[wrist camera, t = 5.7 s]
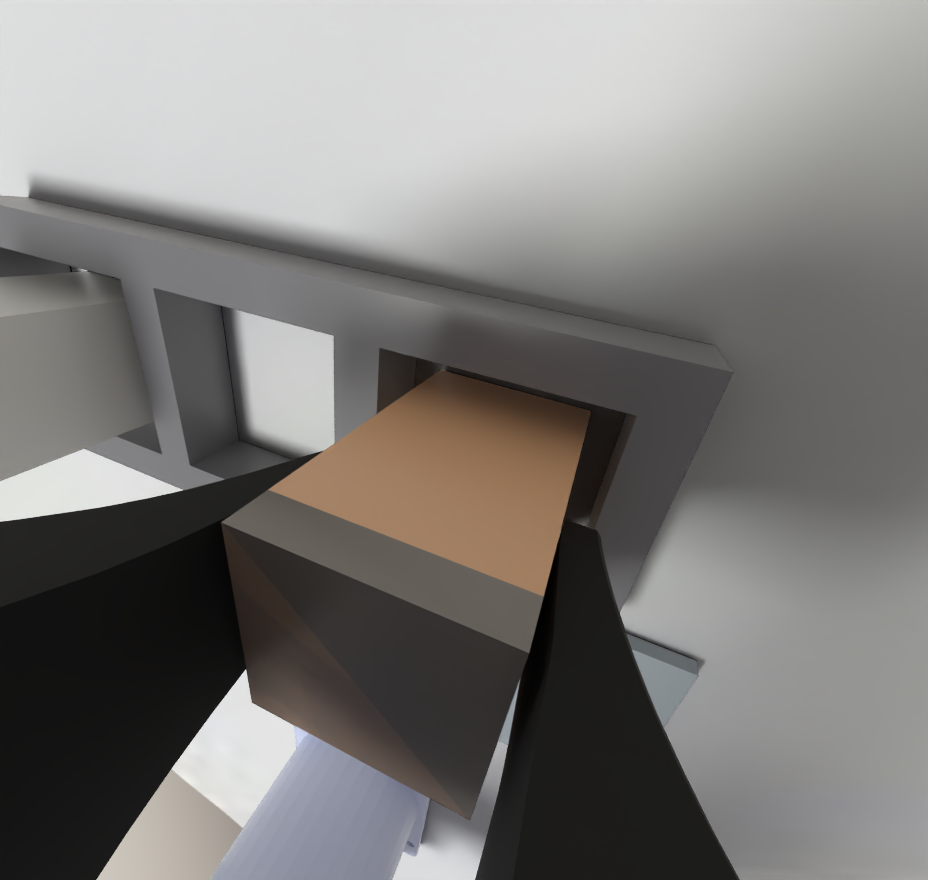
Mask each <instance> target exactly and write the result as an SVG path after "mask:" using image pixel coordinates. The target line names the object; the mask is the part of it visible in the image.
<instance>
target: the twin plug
mask: <svg viewBox="0 0 928 880" xmlns="http://www.w3.org/2000/svg"><path fill="white" fill-rule="evenodd" d="M151 422H154V418H153V414H152V409H151V405H150V401H149V397H148V393H147V389H146V384H145V380H144V376H143V372H142V368H141V364H140V360H139V355H138V351H137V347H136V343H135V339H134V335H133V330H132V326H131V322H130V318H129V314H128V310H127V306H126V301H125V297H124V293H123V289H122V285H121V281H120V280H118V279H114V278H111V277H107V276H103V275H99V274H95V273H92V272H88V271H83V272H69V273H55V274H40V275H26V276H12V277H0V481H2V480H4V479H7V478H9V477H12V476H15V475H17V474H20V473H22V472H25V471H27V470H30V469H33V468H35V467H38V466H40V465H43V464H45V463H48V462H51V461H53V460H56V459H58V458H61V457H64V456H66V455H69V454H71V453H74V452H76V451H79V450H82V449H84V448H87V447H89V446H92V445H94V444H97V443H100V442H102V441H105V440H107V439H110V438H112V437H115V436H118V435H120V434H123V433H125V432H128V431H131V430H133V429H136V428H138V427H141V426H143V425H146V424H149V423H151Z"/></svg>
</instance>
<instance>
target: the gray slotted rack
mask: <svg viewBox="0 0 928 880" xmlns="http://www.w3.org/2000/svg"><path fill="white" fill-rule="evenodd" d="M69 265H70V266H74V267H77V268H81V269H85V270H89V271H92V272H96V273H100V274H104V275H107V276H111V277H115V278H119V279H120V281H121V285H122V289H123V293H124V297H125V301H126V306H127V310H128V314H129V318H130V322H131V326H132V330H133V335H134V339H135V343H136V347H137V351H138V355H139V360H140V364H141V368H142V372H143V376H144V380H145V384H146V389H147V393H148V397H149V401H150V405H151V409H152V414H153V418H154V422H151V423H149V424H146V425H143V426H141V427H138V428H136V429H133V430H131V431H128V432H125V433H123V434H120V435H118V436H115V437H112V438H110V439H107V440H105V441H102V442H100V443H97V444H94V445H92V446H89V447H87V448H84V449H86V450H89V451H91V452H94V453H96V454H98V455H101V456H103V457H106V458H108V459H110V460H113V461H115V462H118V463H120V464H122V465H125V466H127V467H130V468H132V469H134V470H137V471H139V472H142V473H144V474H146V475H149V476H151V477H154V478H156V479H159V480H161V481H163V482H166V483H168V484H171V485H173V486H175V487H178V488H180V489H183V490H187V489H191V488H195V487H199V486H202V485H206V484H210V483H214V482H217V481H221V480H225V479H229V478H233V477H236V476H240V475H244V474H247V473H251V472H254V471H257V470H261V469H264V468H267V467H271V466H274V465H277V464H281V463H284V462H287V461H291V460H292V459H289V458H286V457H283V456H281V455H278V454H275V453H272V452H270V451H267V450H264V449H261V448H258V447H256V446H253V445H250V444H247V443H245V442H242V441H239V438H238V430H237V423H236V416H235V408H234V401H233V393H232V386H231V379H230V371H229V364H228V357H227V349H226V342H225V334H224V327H223V320H222V312H221V306H224V307H228V308H232V309H236V310H239V311H243V312H247V313H251V314H254V315H258V316H262V317H266V318H269V319H273V320H277V321H281V322H285V323H288V324H292V325H296V326H300V327H303V328H307V329H311V330H315V331H318V332H322V333H326V334H330V335H334V418H335V443H336V442H337V441H339V440H340V439H342V438H343V437H345V436H346V435H347V434H349V433H350V432H352V431H353V430H355V429H356V428H358V427H359V426H360V425H362V424H363V423H365V422H366V421H368V420H369V419H370V418H372V417H373V416H375V415H376V414H378V413H379V412H380V411H382V410H383V409H385V408H386V407H388V406H389V405H391V404H392V403H393V402H395V401H396V400H398V399H399V398H401V397H402V396H403V395H405V394H406V393H408V392H409V391H411V390H412V389H414V381H415V370H416V358H420V359H424V360H428V361H432V362H435V363H439V364H443V365H447V366H450V367H454V368H458V369H462V370H465V371H469V372H473V373H477V374H480V375H484V376H488V377H492V378H496V379H499V380H503V381H507V382H511V383H514V384H518V385H522V386H526V387H529V388H533V389H537V390H541V391H545V392H548V393H552V394H556V395H560V396H563V397H567V398H571V399H575V400H578V401H582V402H586V403H590V404H594V405H597V406H601V407H605V408H609V409H612V410H616V411H620V412H624V413H627V415H626V418H625V421H624V424H623V426H622V429H621V432H620V435H619V437H618V440H617V443H616V446H615V448H614V451H613V454H612V457H611V459H610V462H609V465H608V468H607V470H606V473H605V476H604V479H603V481H602V484H601V487H600V490H599V493H598V495H597V498H596V501H595V504H594V506H593V509H592V512H591V515H590V517H589V520H588V523H587V526H586V527H589V528H591V529H594V530H597V531H598V533H599V535H600V536H601V542H602V548H603V553H604V558H605V563H606V567H607V571H608V575H609V579H610V582H611V586H612V590H613V593H614V597H615V600H616V603H617V607H618V610H619V613H620V611H621V609H622V607H623V604H624V602H625V600H626V598H627V596H628V594H629V592H630V590H631V588H632V585H633V583H634V581H635V579H636V577H637V575H638V573H639V571H640V568H641V566H642V564H643V562H644V560H645V558H646V556H647V554H648V552H649V549H650V547H651V545H652V543H653V541H654V539H655V537H656V535H657V533H658V530H659V528H660V526H661V524H662V522H663V520H664V518H665V516H666V513H667V511H668V509H669V507H670V505H671V503H672V501H673V499H674V497H675V494H676V492H677V490H678V488H679V486H680V484H681V482H682V480H683V478H684V475H685V473H686V471H687V469H688V467H689V465H690V463H691V461H692V459H693V456H694V454H695V452H696V450H697V448H698V446H699V444H700V442H701V439H702V437H703V435H704V433H705V431H706V429H707V427H708V425H709V423H710V420H711V418H712V416H713V414H714V412H715V410H716V408H717V406H718V404H719V401H720V399H721V397H722V395H723V393H724V391H725V389H726V387H727V384H728V382H729V380H730V378H731V376H732V374H733V371H732V369H731V368H730V366H729V365H728V363H727V362H726V360H725V359H724V357H723V356H722V354H721V353H720V351H719V350H718V348H717V347H716V346H714V345H710V344H705V343H700V342H696V341H691V340H687V339H682V338H677V337H673V336H668V335H663V334H659V333H654V332H649V331H645V330H640V329H635V328H631V327H626V326H622V325H617V324H612V323H608V322H603V321H598V320H594V319H589V318H584V317H580V316H575V315H571V314H566V313H561V312H557V311H552V310H547V309H543V308H538V307H533V306H529V305H524V304H520V303H515V302H510V301H506V300H501V299H496V298H492V297H487V296H482V295H478V294H473V293H468V292H464V291H459V290H455V289H450V288H445V287H441V286H436V285H431V284H427V283H422V282H417V281H413V280H408V279H404V278H399V277H394V276H390V275H385V274H380V273H376V272H371V271H366V270H362V269H357V268H353V267H348V266H343V265H339V264H334V263H329V262H325V261H320V260H315V259H311V258H306V257H301V256H297V255H292V254H288V253H283V252H278V251H274V250H269V249H264V248H260V247H255V246H250V245H246V244H241V243H237V242H232V241H227V240H223V239H218V238H213V237H209V236H204V235H199V234H195V233H190V232H186V231H181V230H176V229H172V228H167V227H162V226H158V225H153V224H148V223H144V222H139V221H134V220H130V219H125V218H121V217H116V216H111V215H107V214H102V213H97V212H93V211H88V210H83V209H79V208H74V207H70V206H65V205H60V204H56V203H51V202H46V201H42V200H37V199H32V198H28V197H15V196H0V277H12V276H26V275H40V274H55V273H69V272H71V270H70V267H69Z"/></svg>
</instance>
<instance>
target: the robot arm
mask: <svg viewBox="0 0 928 880" xmlns="http://www.w3.org/2000/svg"><path fill="white" fill-rule="evenodd" d="M322 452H323V451H321V452H317V453H314V454H311V455H307V456H304V457H301V458H297V459H294V460H291V461H287V462H284V463H281V464H277V465H274V466H271V467H267V468H264V469H261V470H257V471H254V472H251V473H247V474H244V475H240V476H236V477H233V478H229V479H225V480H221V481H217V482H214V483H210V484H206V485H202V486H199V487H195V488H191V489H187V490H183V491H179V492H175V493H171V494H166V495H162V496H157V497H152V498H148V499H143V500H137V501H132V502H127V503H122V504H117V505H112V506H106V507H101V508H95V509H88V510H81V511H74V512H68V513H61V514H54V515H47V516H40V517H34V518H27V519H20V520H12V521H4V522H0V880H96V879H97V878H98V876H99V875H100V873H101V872H102V870H103V869H104V867H105V865H106V864H107V862H108V861H109V859H110V858H111V856H112V855H113V853H114V852H115V850H116V849H117V847H118V846H119V844H120V843H121V841H122V839H123V838H124V837H125V835H126V833H127V832H128V831H129V829H130V828H131V826H132V825H133V823H134V822H135V821H136V819H137V818H138V816H139V815H140V813H141V812H142V810H143V809H144V807H145V806H146V805H147V803H148V802H149V800H150V799H151V797H152V796H153V795H154V793H155V792H156V790H157V789H158V787H159V786H160V784H161V783H162V782H163V780H164V778H165V777H166V776H167V774H168V773H169V771H170V770H171V769H172V767H173V766H174V764H175V763H176V762H177V760H178V759H179V758H180V756H181V755H182V753H183V752H184V751H185V749H186V748H187V747H188V745H189V744H190V742H191V741H192V740H193V738H194V737H195V736H196V734H197V733H198V732H199V730H200V729H201V727H202V726H203V725H204V723H205V722H206V721H207V719H208V718H209V716H210V715H211V714H212V712H213V711H214V710H215V708H216V707H217V706H218V705H219V703H220V702H221V701H222V699H223V698H224V697H225V695H226V694H227V693H228V692H229V690H230V689H231V688H232V686H233V685H234V684H235V682H236V681H237V680H238V679H239V677H240V676H241V675H242V673H243V672H244V671H245V669H246V664H245V659H244V653H243V647H242V641H241V635H240V629H239V623H238V618H237V612H236V606H235V600H234V594H233V588H232V583H231V577H230V571H229V565H228V559H227V553H226V548H225V542H224V536H223V530H222V524H221V522H222V521H224V520H225V519H227V518H228V517H230V516H231V515H233V514H234V513H235V512H237V511H238V510H240V509H241V508H243V507H244V506H245V505H247V504H248V503H250V502H251V501H253V500H254V499H256V498H257V497H258V496H260V495H261V494H263V493H264V492H266V491H267V490H268V489H270V488H271V487H273V486H274V485H276V484H277V483H278V482H280V481H281V480H283V479H284V478H286V477H287V476H289V475H290V474H291V473H293V472H294V471H296V470H297V469H299V468H300V467H301V466H303V465H304V464H306V463H307V462H309V461H310V460H312V459H313V458H314V457H316V456H317V455H319V454H320V453H322ZM294 730H295V740H296V750H295V752H294V753H293V755H292V756H291V758H290V759H289V761H288V762H287V764H286V765H285V767H284V768H283V770H282V771H281V773H280V774H279V776H278V777H277V779H276V780H275V782H274V783H273V785H272V786H271V788H270V789H269V791H268V792H267V794H266V795H265V797H264V798H263V800H262V801H261V802H260V804H259V805H258V807H257V808H256V810H255V811H254V813H253V814H252V816H251V817H250V819H249V820H248V822H247V823H246V825H245V826H244V828H243V829H242V831H241V832H240V834H239V836H238V837H237V838H236V840H235V841H234V843H233V844H232V846H231V848H230V849H229V850H228V852H227V853H226V855H225V856H224V858H223V859H222V861H221V862H220V864H219V865H218V867H217V868H216V870H215V871H214V873H213V874H212V876H211V877H210V879H209V880H392V879H393V876H394V874H395V871H396V868H397V866H398V863H399V861H400V858H401V855H402V853H403V852H405V853H407V854H408V855H410V856H416V855H417V853H418V850H419V847H420V842H421V838H422V833H423V829H424V824H425V820H426V815H427V811H428V806H429V801H430V799H429V798H428V797H426V796H424V795H422V794H420V793H418V792H417V791H415V790H413V789H411V788H409V787H407V786H405V785H404V784H402V783H400V782H398V781H396V780H394V779H392V778H391V777H389V776H387V775H385V774H383V773H381V772H380V771H378V770H376V769H374V768H372V767H370V766H368V765H367V764H365V763H363V762H361V761H359V760H357V759H355V758H354V757H352V756H350V755H348V754H346V753H344V752H343V751H341V750H339V749H337V748H335V747H333V746H331V745H330V744H328V743H326V742H324V741H322V740H320V739H319V738H317V737H315V736H313V735H311V734H309V733H307V732H306V731H304V730H302V729H300V728H298V727H296V726H294ZM475 880H740V879H739V877H738V876H737V874H736V872H735V870H734V868H733V867H732V865H731V863H730V861H729V859H728V857H727V856H726V854H725V852H724V850H723V848H722V846H721V845H720V843H719V841H718V839H717V837H716V835H715V833H714V831H713V830H712V828H711V826H710V824H709V822H708V820H707V818H706V816H705V814H704V812H703V810H702V808H701V805H700V803H699V801H698V799H697V797H696V795H695V793H694V791H693V789H692V787H691V785H690V783H689V781H688V779H687V777H686V775H685V773H684V771H683V769H682V767H681V765H680V763H679V760H678V758H677V756H676V754H675V752H674V750H673V747H672V745H671V743H670V741H669V739H668V737H667V734H666V732H665V730H664V728H663V726H662V723H661V721H660V719H659V716H658V714H657V712H656V709H655V707H654V705H653V702H652V700H651V697H650V695H649V693H648V690H647V688H646V685H645V683H644V680H643V677H642V675H641V672H640V670H639V667H638V665H637V662H636V659H635V657H634V654H633V651H632V648H631V646H630V643H629V640H628V637H627V634H626V631H625V628H624V625H623V622H622V619H621V616H620V613H619V610H618V607H617V603H616V600H615V597H614V593H613V590H612V586H611V582H610V579H609V575H608V571H607V567H606V563H605V558H604V553H603V548H602V542H601V536H600V535H599V533H598V531H597V530H594V529H591V528H589V527H586V526H583V525H580V524H577V523H574V522H571V521H568V520H565V521H564V524H563V528H562V531H561V534H560V537H559V540H558V543H557V547H556V551H555V554H554V558H553V562H552V566H551V570H550V574H549V578H548V582H547V586H546V590H545V593H544V597H543V601H542V605H541V609H540V613H539V617H538V621H537V625H536V628H535V632H534V636H533V640H532V644H531V648H530V652H529V655H528V658H527V661H526V663H525V666H524V669H523V672H522V675H521V678H520V682H519V688H518V693H517V699H516V704H515V710H514V715H513V721H512V726H511V731H510V737H509V742H508V748H507V753H506V759H505V764H504V769H503V773H502V778H501V782H500V787H499V791H498V796H497V800H496V803H495V807H494V811H493V815H492V819H491V822H490V826H489V830H488V834H487V837H486V841H485V845H484V849H483V852H482V856H481V860H480V864H479V867H478V871H477V875H476V879H475Z"/></svg>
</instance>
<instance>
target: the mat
mask: <svg viewBox="0 0 928 880" xmlns="http://www.w3.org/2000/svg"><path fill="white" fill-rule="evenodd" d="M626 634H627V633H626ZM627 637H628V640H629V643H630V646H631V648H632V651H633V654H634V657H635V659H636V662H637V665H638V667H639V670H640V672H641V675H642V677H643V680H644V683H645V685H646V688H647V690H648V693H649V695H650V697H651V700H652V702H653V705H654V707H655V709H656V712H657V714H658V716H659V719H660V721H661V723H662V726H663V728H664V726H665V725H666V723H667V722H668V720H669V719H670V717H671V716H672V714H673V713H674V711H675V710H676V708H677V707H678V706H679V704H680V703H681V701H682V700H683V698H684V697H685V695H686V694H687V692H688V691H689V689H690V688H691V686H692V685H693V683H694V682H695V681H696V679H697V678H698V676H699V675H698V668H697V661H696V660H693V659H690V658H688V657H685V656H683V655H680V654H678V653H675V652H673V651H670V650H668V649H665V648H662V647H660V646H657V645H655V644H652V643H650V642H647V641H645V640H642V639H639V638H637V637H634V636H632V635H629V634H627ZM519 682H520V680H519ZM518 688H519V683H518V686H517V689H516V692H515V695H514V697H513V700H512V703H511V706H510V709H509V711H508V714H507V717H506V720H505V723H504V726H503V728H502V731H501V734H500V737H499V740H498V741H500V742H503V743H505V744H507V745H508V742H509V737H510V731H511V726H512V721H513V715H514V710H515V704H516V699H517V693H518Z"/></svg>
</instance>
